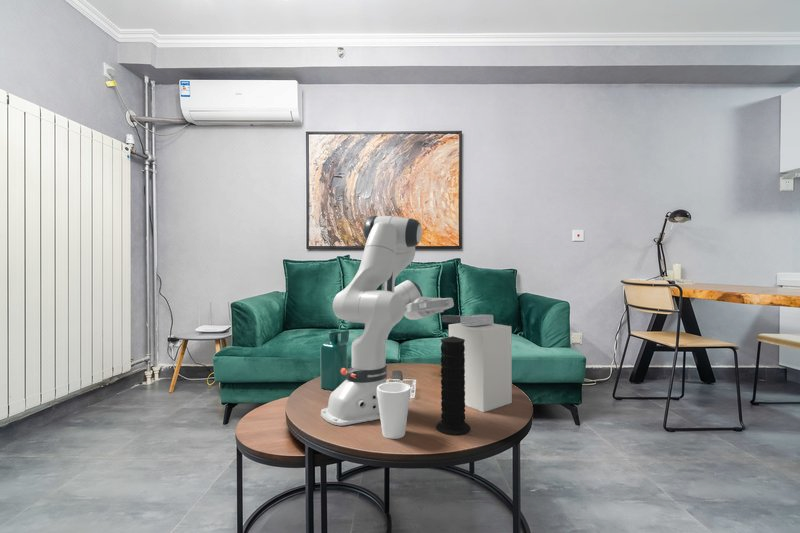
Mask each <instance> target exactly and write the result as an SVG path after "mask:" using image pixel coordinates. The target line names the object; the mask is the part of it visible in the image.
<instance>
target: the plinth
mask: <svg viewBox="0 0 800 533" xmlns="http://www.w3.org/2000/svg"><path fill="white" fill-rule="evenodd" d="M452 336H454V337H458V338H461V339H464V340H465V342H464V346H465V351H464V354H465V356H464V357H465V363H464V365H465V367H464V368H465V374H464V376H465V378H464V379H465V386H464V387H465V397H464V398H465V407H469V408H471V409H475V410H477V411H479V412H482V413H485V412H489V411H491V410H495V409H498V408H500V407H503V406H506V405H510V404H512V402H513V401H512V400H513V396H512V395H513V392H512V391H513V390H512V389H513V387H512V386H513V382H512V379H513V376H512V374H513V373H512V370H513V367H512V366H513V364H512V362H513V360H512V355H513V354H512V350H513V349H512V344H513V343H512V325H506V324H505V325H504V324H499V323H494V324H486V325H479V326H462V325H461V323H450V324H448V337H452Z"/></svg>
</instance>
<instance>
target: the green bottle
mask: <svg viewBox="0 0 800 533" xmlns="http://www.w3.org/2000/svg"><path fill="white" fill-rule="evenodd" d="M326 334H328V341H326V342H323V343H322V344H321V345H320V349H319V350H320V351H319V352H320V355H319V356H320V388H321V389H323V388H324V389H325V390H328V391H329V390H330V391H334V390H335V389H336V388H337V387H339V386H340V385H341V384H342V383H343V382H344V381H345V380H346V379H347V375H343V374H342V373H341V372H340V371H341V370H342V368H345V369H347V370H348V345H347V344H348V342H349V336H350V330H349V329H346V330H345V329H344V330H342V331H341V330H339V329H329V330H327V331H326ZM339 336H340V340H339ZM324 389H323V390H324Z"/></svg>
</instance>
